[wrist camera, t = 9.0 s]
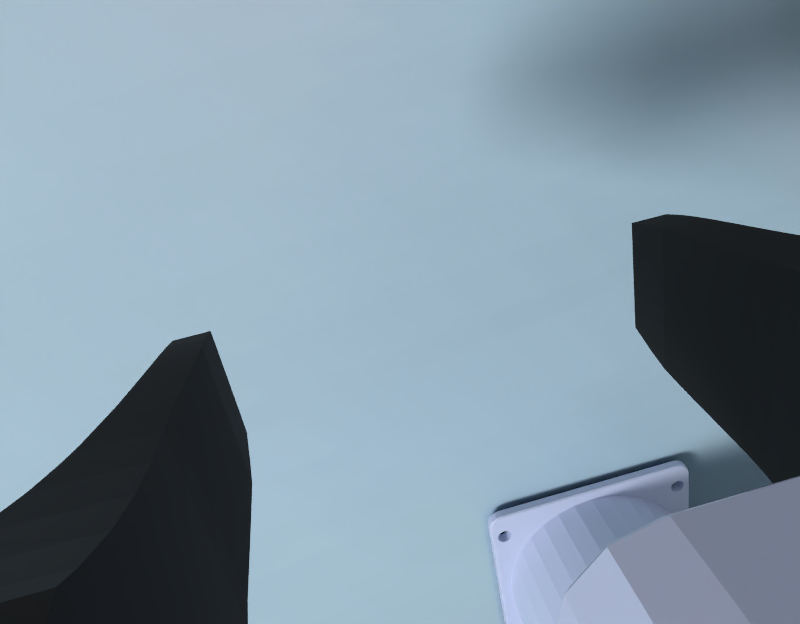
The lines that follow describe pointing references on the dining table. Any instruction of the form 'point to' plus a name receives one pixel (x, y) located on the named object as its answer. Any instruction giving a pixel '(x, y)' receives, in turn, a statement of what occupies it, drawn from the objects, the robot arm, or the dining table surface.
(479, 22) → the dining table surface
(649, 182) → the dining table surface
